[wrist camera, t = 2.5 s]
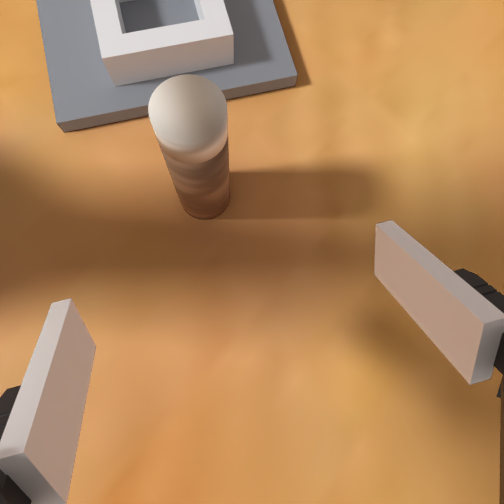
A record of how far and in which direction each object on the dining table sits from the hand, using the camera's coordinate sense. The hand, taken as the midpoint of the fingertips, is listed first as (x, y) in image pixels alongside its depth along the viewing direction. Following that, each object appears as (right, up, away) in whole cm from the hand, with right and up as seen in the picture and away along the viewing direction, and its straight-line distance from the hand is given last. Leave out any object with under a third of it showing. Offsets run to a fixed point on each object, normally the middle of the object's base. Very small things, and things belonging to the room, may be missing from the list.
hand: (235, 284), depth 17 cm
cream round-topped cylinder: (-3, +6, +18) cm, 19 cm away
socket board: (-8, +22, +21) cm, 32 cm away
